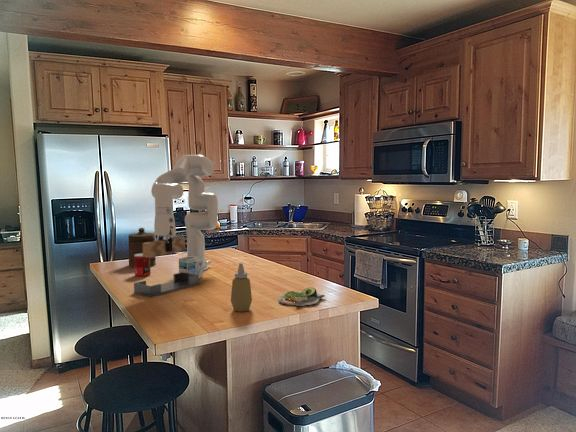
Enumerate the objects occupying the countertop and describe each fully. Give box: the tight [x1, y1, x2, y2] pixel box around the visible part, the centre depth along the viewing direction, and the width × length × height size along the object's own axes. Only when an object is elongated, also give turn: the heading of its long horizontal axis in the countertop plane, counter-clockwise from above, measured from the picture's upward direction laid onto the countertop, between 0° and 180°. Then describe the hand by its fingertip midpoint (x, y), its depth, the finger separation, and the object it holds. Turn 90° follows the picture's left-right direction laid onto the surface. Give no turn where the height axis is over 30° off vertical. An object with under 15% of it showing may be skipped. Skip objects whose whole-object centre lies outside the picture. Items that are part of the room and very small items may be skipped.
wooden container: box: [127, 227, 157, 269], centre depth 248 cm, size 15×15×22 cm
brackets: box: [133, 272, 200, 298], centre depth 195 cm, size 27×12×4 cm, turn 144°
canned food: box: [134, 253, 151, 278], centre depth 222 cm, size 8×8×11 cm
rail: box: [143, 236, 186, 258], centre depth 194 cm, size 22×4×6 cm, turn 153°
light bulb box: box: [178, 255, 204, 279], centre depth 215 cm, size 11×7×11 cm, turn 148°
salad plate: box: [277, 286, 326, 307], centre depth 174 cm, size 19×18×5 cm
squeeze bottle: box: [230, 262, 253, 313], centre depth 162 cm, size 8×8×18 cm
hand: (165, 250), depth 194 cm, fingers closed on rail, 5 cm apart
